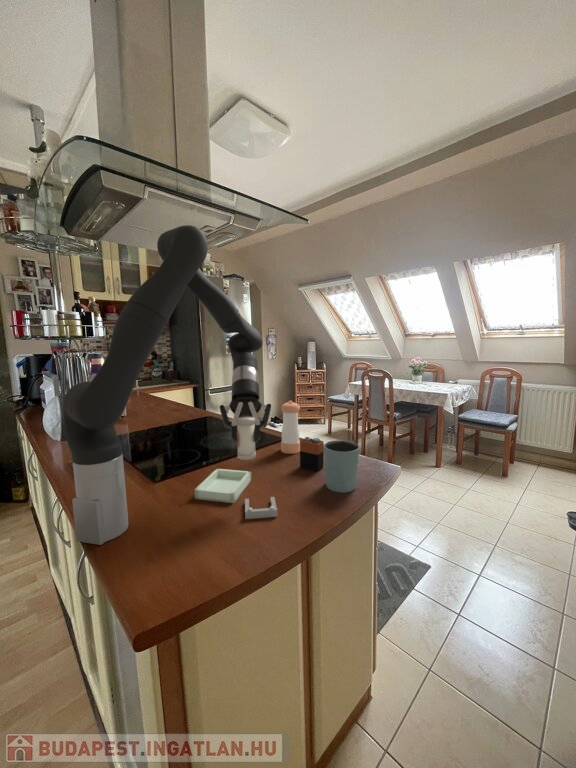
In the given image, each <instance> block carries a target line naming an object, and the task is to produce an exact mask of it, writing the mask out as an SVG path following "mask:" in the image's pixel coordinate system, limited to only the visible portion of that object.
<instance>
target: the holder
mask: <svg viewBox="0 0 576 768" xmlns="http://www.w3.org/2000/svg"><path fill="white" fill-rule="evenodd" d="M244 516H245V518H244V519H245V520H252V519H253V520H254V519H265V518H266V519H267V518H277V517H278V507H277V503H276V498H275V496H270V506H269V507H266V508H253V507H250V498H244Z"/></svg>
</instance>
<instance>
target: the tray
mask: <svg viewBox="0 0 576 768" xmlns="http://www.w3.org/2000/svg"><path fill="white" fill-rule="evenodd" d="M251 481H252V471H248V470H236V469H225V468H216V469H215V470H214V471H213V472H211V473H210V474H209V475H208V476H207V478H205V479H204V480H203V481H202V482H200V483H199V485H198V486H196V488H194V490H193V491H194V499H195V500H199V501H200V500H201V501H209V502H219V503H227V504H235V503H236V501H237V500H238V499H239V497H240V496H241V494H242V493H243V492H244V490H245V489H246V488H247V486H248V485H249V484H250V483H251Z"/></svg>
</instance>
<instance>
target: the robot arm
mask: <svg viewBox="0 0 576 768" xmlns="http://www.w3.org/2000/svg"><path fill="white" fill-rule="evenodd" d="M156 245H157V246H156V247H157V248H156V249H157V252H158V256H159V257H160V258H161V260H162V263H161V264H160V266H159V267H158V268H157V269H156V270H155V272H153V274H152V275H150V276H149V277H148V278H147V280H145V281H144V282H143V283H142V284H141V285H140V286H139V287H138V288H137V289H136V290H135V291H134V292H133V293H132V295H130V297H129V299H128V300H127V302H126V304H125V305H124V307H123V308H122V310H121V312H120V314H119V315H118V316H117V319H116V321H115V323H114V327H113V331H112V333H111V334H112V335H111V340H110V344H109V349H108V352H107V356H106V358H105V359H104V362H103V363H102V365H101V367H100V368H99V370H98V371H97V373H96V374H95V375H94V377H93V379H92V380H91V381H82V382H79V383H76V384H74V385H72V386H71V387H70V388H69V389H68V390H67V392H66V393H65V395H64V398H63V401H62V414H63V420H64V421H63V422H64V427H65V428H64V429H65V434H66V441H67V445H68V449H69V450H70V454H71V458H72V459H71V460H72V469H73V476H74V477H73V478H74V487H75V496H76V497H74V498H72V500H71V501H72V509H73V520H74V529H75V538H76V542H79V543H85V544H91V545H99V546H101V545H103V544H105V543H107V542H108V541H111V540H114V539H115V538H118V537H120V536H121V535H122V534H124V533H125V532H126V530H128V528H129V516H128V515H129V514H128V504H127V502H128V501H127V491H126V489H127V488H126V480H125V469H124V454H123V443H122V440H121V439H120V437H119V436H118V434H117V432H116V428H115V425H114V424H116V422H117V421H119V419H120V418H121V417H122V415H123V414H124V411H125V409H126V407H127V405H128V402H129V399H130V396H131V394H132V392H133V390H134V387H135V384H136V381H138V377H139V375H140V373H141V371H142V369H144V366H145V364H146V362H147V361H148V359H149V358H150V356H151V353H152V352H153V349H154V348H155V346H156V344H157V342H159V339H160V337H161V336H162V334H163V333H164V332H163V331H164V330H165V328H166V327H167V325H168V323H169V320H170V318H171V316H172V315H173V312H174V310H175V308H176V307H177V305H178V304H179V301H180V299H181V298H182V296H183V294H184V292H185V290H186V289H187V288H188V289H189V290H190V291H191V292H192V293H193V294H194V296H195V297H196V298H197V299H198V300H199V301H200V302H201V303H202V304H203V306H204V307H205V309H207V311H208V312H209V314H210V315H211V316H212V318H213V320H214V321H215V322H216V323H217V325H218V327H219V328H220V329H221V330H222V331H223V332H224V333H226V334H233V335H232V336H230V337H229V339H228V340H227V347H228V350H229V353H230V356H231V359H232V363H233V364H232V377H231V400H230V403H229V404H228V405H224V404H220V406H219V412H220V415H221V419H222V421H223V425H224V428H225V429H226V430H227V429H229V430H231V433H230V434H231V436H230V437H231V441H232V442H233V443H234V444H237V420H236V418H238V417H241V416H253V417H255V428H254V430H255V444H256V443H258V441H260V440H261V428H266V427H267V426H268V422H269V419H270V414H271V411H272V404H271V403H267V404H265V403H264V404H263V403H262V402H261V400H260V381H259V380H260V379H259V373H258V359H257V357H256V355H255V354H254V353H255V352H257V351H259V350H260V349H261V348H262V346H263V337H262V335H261V333H260V332H259V331H258V329H256V328H255V327H254V326H253V325H252V324H250V322H248V321H247V320H246V319H245V318H244V317H243V316H242V315H241V313H240V312H239V310H238V308H237V307H236V305H235V303H234V302H233V301H232V299H231V298H230V297H229V295H227V293H225V292H224V291H223V290H222V289H220V287H218V286H217V285H216V284H214V283H213V282H212V281H211V280H210V279H209V278H208V277H207V276H206V275H205V273H204V272H203V271H202V270H201V269H200V268H201V267H202V265H203V263H204V262H205V260H206V258H207V255H208V247H209V246H208V245H209V244H208V240H207V238H206V235H205V234H204V232H203V230H201V229H200V228H199V227H197V226H194V225H189V224H188V225H187V224H186V225H180V226H177V227H174V228H173V229H169V230H166V231H165V232H162V233H161V234H160V235H159V237H158V240H157V243H156ZM234 333H235V334H234ZM261 410H262V413H263V417H262V420H260V419H259V416H258V413H259V412H260V411H261ZM230 411H231V413H232V414H233V419H232V421H230V420H229V417H228V414H229V412H230Z"/></svg>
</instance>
